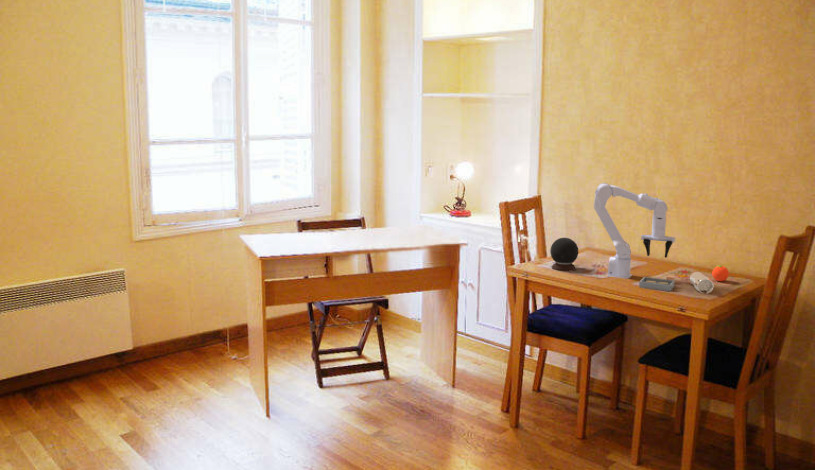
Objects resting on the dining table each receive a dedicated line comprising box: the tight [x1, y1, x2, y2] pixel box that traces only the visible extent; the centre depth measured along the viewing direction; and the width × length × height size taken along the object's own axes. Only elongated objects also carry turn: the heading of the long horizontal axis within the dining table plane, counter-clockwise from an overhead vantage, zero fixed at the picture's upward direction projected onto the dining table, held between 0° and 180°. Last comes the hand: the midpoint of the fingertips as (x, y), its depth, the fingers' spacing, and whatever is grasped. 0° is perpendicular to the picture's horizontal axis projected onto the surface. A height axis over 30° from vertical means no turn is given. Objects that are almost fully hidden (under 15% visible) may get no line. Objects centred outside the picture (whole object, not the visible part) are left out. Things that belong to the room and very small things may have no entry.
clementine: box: [711, 265, 730, 282], centre depth 340 cm, size 8×7×7 cm
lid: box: [666, 274, 676, 282], centre depth 336 cm, size 13×10×4 cm
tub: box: [638, 276, 676, 292], centre depth 327 cm, size 13×10×3 cm
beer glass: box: [689, 271, 714, 294], centre depth 324 cm, size 7×7×15 cm
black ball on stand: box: [549, 237, 579, 272], centre depth 360 cm, size 13×13×15 cm
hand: (657, 256), depth 341 cm, fingers open, 7 cm apart
